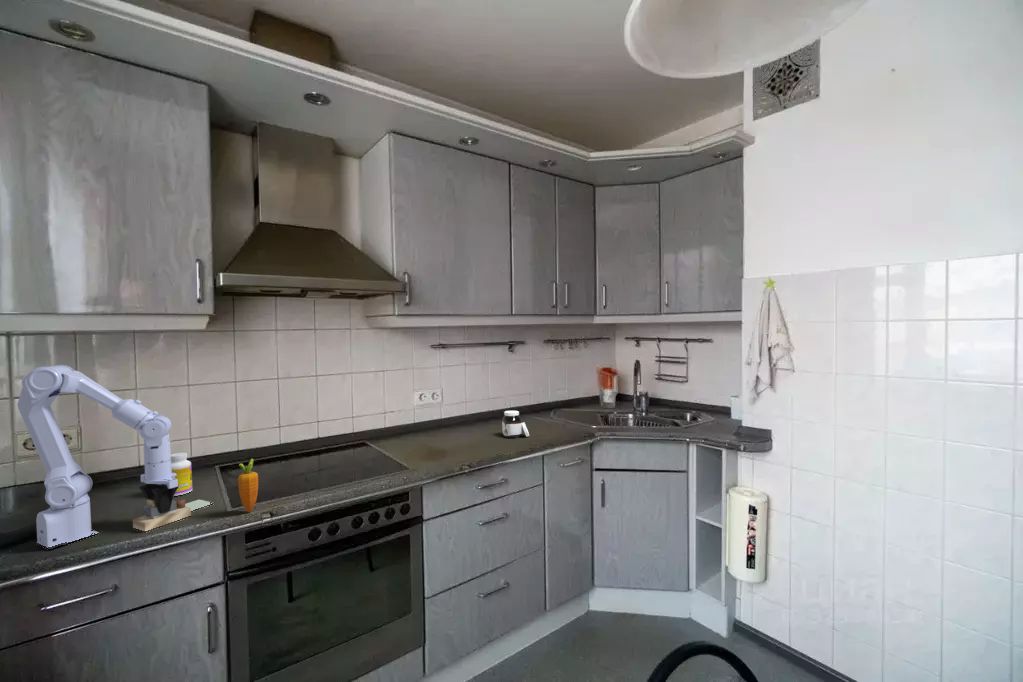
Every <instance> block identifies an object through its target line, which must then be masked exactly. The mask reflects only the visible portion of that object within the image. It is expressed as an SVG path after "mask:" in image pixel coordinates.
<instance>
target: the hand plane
mask: <svg viewBox="0 0 1023 682" xmlns="http://www.w3.org/2000/svg"><path fill="white" fill-rule="evenodd" d="M175 501H176V505H177V510H174V511H171V512H167V513H164V514H161V515H158V516H155V517H152V518H151V517H147V516H144V515H143V516H140V517H139V516H138V517H136V518H133V519H132V529H133V528H136V529H139V530H142V531H148V530H151V529H153V528H156V527H159V526H162V525H165V524H168V523H171V522H174V521H177V520H180V519H182V518H185V517H188V516H191V517H192V512H191V508H189V507H185V504H186V499H185V498H182V499H180V498H179V499H178V500H175ZM180 521H181V520H180ZM177 522H178V521H177Z"/></svg>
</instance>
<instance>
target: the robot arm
mask: <svg viewBox="0 0 1023 682" xmlns="http://www.w3.org/2000/svg"><path fill="white" fill-rule="evenodd" d="M21 384H22V388H21V391H20V395H19V398H18V401H17V409H18V410H19V413H20V416H21V418H22V420H23V422H24V424H25V427H26V429H27V431H28V433H29V437H31V441H32V443H33V445H34V448H35V449H36V452H37V454H38V457H39V459H40V461H41V463H42V465H43V468H44V470H45V477H44V482H43V484H44V486H45V494H44V499H45V502H46V503H47V504H48V505H49V506H50V507H48V508H47V509H45V510H42V511H40V512H38V513H37V515H36V519H35V520H36V521H35V523H36V539H37V542H36V543H39V544H41V545H43V546H46V547H47V548H48V547H52V546H55V545H58V544H61V543H65V542H67V543H68V542H72V541H75V540H79V539H81V538H84V537H88V536H90V535H91V534H92V533H93V534H92V535H94V533H95V534H97V533H99V532H98V531H96V530H93V529H92V517H91V514H92V513H91V499H90V496H89V494H88V492H90V491H91V490H92V488H93V483H94V482H93V479H92V478H91V476H90V475H89V474H87V473H86V472H84V470H83V467H82V466H80V465H79V464H78V463H76V462H75V461H74V458H73V455H72V454H71V451H70V449H69V447H68V444H67V442H66V439H65V437H64V435H63V433H62V430H61V427H60V425H59V424H58V420H57V418H56V416H55V414H54V411H53V409H52V406H51V405H52V404H53V402H55V400H56V398H57V397H59V395H60V394H61V393H72V394H74V393H75V394H80V395H82V396H84V397H86V398H88V399H90V400H92V401H94V402H96V403H97V404H100V405H101V406H104V407H105V408H107V409H109V410H111V415H112V417H113V419H114V418H115V419H116V420H118V421H119V422H122V423H123V424H125V425H126V426H129V427H130V428H132V429H134V430H135V431H138V433H139V435H140V437H141V438H142V439H143V458H144V459H143V463H144V474H141V475H140V483H144V484H143V485H139V490H140V491H141V492H142V493H143V495H144V497H145V499H146V500H147V499H149V498H152V497H155V498H156V500H157V504H158V509H159V512H160V513H161V514H162V513H165V512H168V511H170V508H171V504H172V500H174V499H173V498H175V497H174V494H175V492H176V490H177V489H178V487H179V485H178V479H175V478H174V476H176V473H172V469H171V455H172V451H171V449H172V447H171V442H170V441H171V439H170V433H169V431H171V429H172V422H171V420H170V418H169V417H167V416H166V415H165V414H159V412H158V411H156V410H151V409H150V408H147V407H146V406H144V405H143V404H142V401H141V400H140V399H135V400H134V399H132V398H126V399H122V398H121V397H119V396H117V395H116V394H114V393H113V392H111V391H110V390H108V389H107V388H105V387H104V386H102V385H100V384H99V383H98V382H96V381H95V380H93V379H92V378H90V377H88V376H87V375H86V374H84V373H83V372H81V371H78V370H74V368H72V367H70V366H69V365H66V364H56V365H52V366H40V367H36V368H35V369H32V370H31V371H30V372H29V373H28V374H27V375H26V376H25V377H23V379H22V380H21ZM91 530H93V531H91ZM99 534H100V533H99ZM53 539H55V541H53Z"/></svg>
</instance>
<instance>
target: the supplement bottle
mask: <svg viewBox="0 0 1023 682" xmlns="http://www.w3.org/2000/svg"><path fill="white" fill-rule="evenodd" d="M187 458H188V453H187V452H175V453H171V469H172V473H176V476H174V478H175V479H178V485H179V487H178V489H177V490H176V492H175V494H174V496H178V495H183V494H186V493H189V492H191V491H192V492H193V475H192V474H193V472H192V462H191V461H190V460H187ZM192 492H191V493H192ZM189 494H190V493H189ZM186 495H187V494H186ZM183 496H184V495H183ZM178 497H179V496H178Z"/></svg>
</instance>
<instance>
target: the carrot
mask: <svg viewBox="0 0 1023 682" xmlns="http://www.w3.org/2000/svg"><path fill="white" fill-rule="evenodd" d="M253 465H254V458H250V461H249V462H248V464H247V465H244V464H243V463H239V465H238V467H240V469H242V471H243V472H242V473H241V474H240V475H239V476H238V478H237V484H238V493H239V497H240V501H241V504H242V506H243V508H244V509H245V511H246V512H247V513H249V512H250V513H251V512H252V511H253V509H254V507H255V505H256V502H257V497H258V492H259V475H258V473H257V472H255V471H251V470H253V469H252V468H253V467H254V466H253Z"/></svg>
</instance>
